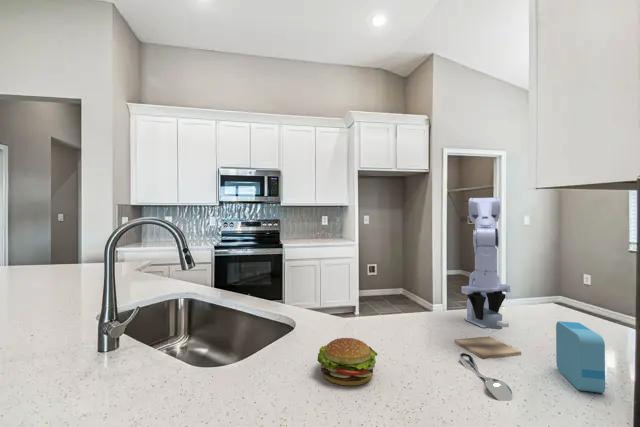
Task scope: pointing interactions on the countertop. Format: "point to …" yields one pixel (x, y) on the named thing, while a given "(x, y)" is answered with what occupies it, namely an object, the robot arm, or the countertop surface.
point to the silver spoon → (489, 381)
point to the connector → (490, 319)
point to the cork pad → (487, 347)
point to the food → (347, 361)
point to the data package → (580, 356)
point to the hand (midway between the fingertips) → (486, 318)
